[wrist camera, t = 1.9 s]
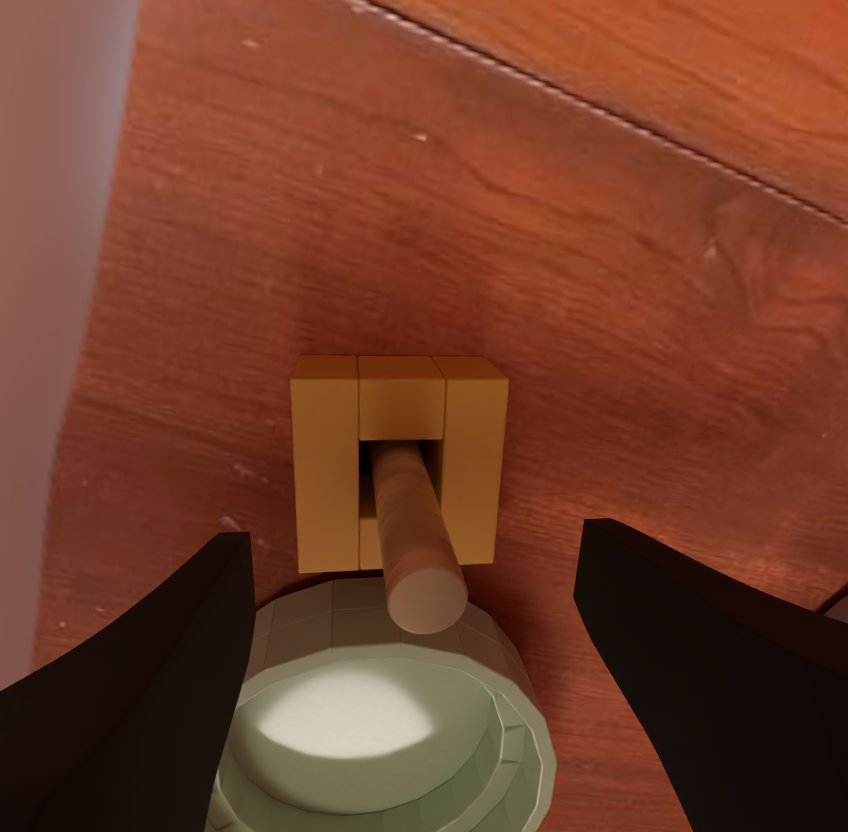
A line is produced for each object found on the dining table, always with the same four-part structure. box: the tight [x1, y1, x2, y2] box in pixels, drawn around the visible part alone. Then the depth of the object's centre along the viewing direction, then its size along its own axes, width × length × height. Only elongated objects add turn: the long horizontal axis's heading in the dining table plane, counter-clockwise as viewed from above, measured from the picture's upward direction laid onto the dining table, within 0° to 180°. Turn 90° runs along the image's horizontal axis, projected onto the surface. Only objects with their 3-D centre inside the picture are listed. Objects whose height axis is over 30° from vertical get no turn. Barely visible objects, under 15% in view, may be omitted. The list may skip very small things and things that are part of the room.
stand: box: [290, 355, 509, 573], centre depth 17 cm, size 6×6×3 cm
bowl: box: [204, 577, 557, 832], centre depth 20 cm, size 13×13×4 cm
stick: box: [369, 440, 468, 634], centre depth 14 cm, size 2×2×8 cm
